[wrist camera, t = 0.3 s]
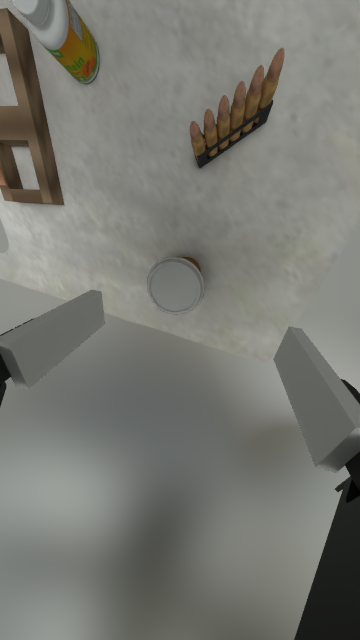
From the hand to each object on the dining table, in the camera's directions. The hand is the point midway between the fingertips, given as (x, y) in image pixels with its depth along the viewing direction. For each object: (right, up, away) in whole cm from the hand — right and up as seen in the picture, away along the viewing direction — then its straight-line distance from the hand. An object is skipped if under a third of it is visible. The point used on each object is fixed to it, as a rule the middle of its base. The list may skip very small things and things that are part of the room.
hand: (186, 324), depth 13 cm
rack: (-29, +35, +20) cm, 49 cm away
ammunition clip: (+7, +28, +15) cm, 33 cm away
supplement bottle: (-15, +40, +14) cm, 45 cm away
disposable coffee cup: (+1, +11, +26) cm, 28 cm away
